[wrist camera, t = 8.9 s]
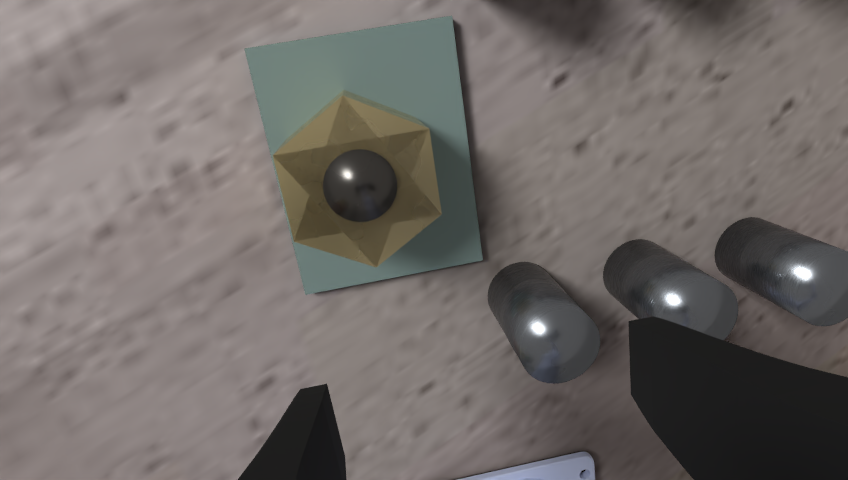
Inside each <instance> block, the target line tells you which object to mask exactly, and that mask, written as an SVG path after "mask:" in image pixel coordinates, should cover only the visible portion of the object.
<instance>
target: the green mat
mask: <svg viewBox="0 0 848 480" xmlns="http://www.w3.org/2000/svg"><path fill="white" fill-rule="evenodd" d="M245 53H246V57H247V61H248V65H249V69H250V73H251V77H252V81H253V85H254V89H255V93H256V97H257V101H258V105H259V109H260V113H261V118H262V122H263V126H264V130H265V134H266V138H267V142H268V146H269V150H270V154H271V158H272V162H273V166H274V170H275V174H276V178H277V182H278V186H279V190H280V194H281V198H282V202H283V206H284V210H285V214H286V218H287V222H288V226H289V230H290V234H291V238H292V242H293V246H294V250H295V254H296V258H297V262H298V266H299V270H300V275H301V279H302V283H303V287H304V291H305V295H307V294H312V293H317V292H322V291H327V290H333V289H338V288H343V287H348V286H353V285H358V284H364V283H369V282H374V281H379V280H384V279H389V278H394V277H400V276H405V275H410V274H415V273H420V272H425V271H431V270H436V269H441V268H446V267H451V266H456V265H462V264H467V263H472V262H477V261H482V260H483V257H482V250H481V242H480V234H479V226H478V218H477V210H476V202H475V194H474V186H473V178H472V170H471V162H470V154H469V146H468V139H467V131H466V123H465V115H464V107H463V99H462V91H461V83H460V75H459V67H458V59H457V51H456V43H455V35H454V28H453V20H452V16H447V17H441V18H435V19H428V20H422V21H416V22H409V23H403V24H397V25H391V26H384V27H378V28H372V29H365V30H359V31H353V32H346V33H340V34H334V35H327V36H321V37H315V38H308V39H302V40H296V41H289V42H283V43H277V44H271V45H264V46H258V47H252V48H245ZM343 90H346V91H349V92H351V93H354V94H356V95H359V96H362V97H364V98H367V99H369V100H372V101H374V102H377V103H380V104H382V105H385V106H387V107H390V108H393V109H395V110H398V111H400V112H403V113H405V114H408V115H411V116H413V117H416V118H417V119H418V120H419V121H421V122H422V123H423V124H424V125H425V126H427V127H428V128H429V130H430V137H431V144H432V151H433V158H434V164H435V171H436V178H437V185H438V192H439V198H440V205H441V212H442V215H440V216H439V217H438V218H437V219H435V220H434V221H433V222H432V223H431V224H429V225H428V226H427V227H426V228H424V229H423V230H422V231H421V232H419V233H418V234H417V235H416V236H415V237H413V238H412V239H411V240H410V241H408V242H407V243H406V244H405V245H403V246H402V247H401V248H400V249H398V250H397V251H396V252H395V253H394V254H392V255H391V256H390V257H389V258H387V259H386V260H385V261H384V262H382V263H381V264H380V265H379V266H378V267H373V266H370V265H367V264H364V263H360V262H357V261H354V260H351V259H348V258H344V257H341V256H338V255H335V254H332V253H328V252H325V251H322V250H319V249H316V248H312V247H309V246H306V245H303V244H300V243H296V242H294V241H293V236H292V232H291V228H290V224H289V220H288V216H287V212H286V208H285V204H284V200H283V196H282V192H281V188H280V184H279V180H278V175H277V171H276V167H275V163H274V159H273V155H274V153H275V152H276V151H277V150H278V149H279V147H280V146H281V145H282V144H283V143H284V141H285V140H286V139H287V138H288V137H289V136H291V135H292V134H293V133H294V132H295V131H296V130H298V129H299V128H300V127H301V126H302V125H303V124H305V123H306V122H307V121H308V120H309V119H310V118H312V117H313V116H314V115H315V114H316V113H317V112H319V111H320V110H321V109H322V108H323V107H324V106H325V105H327V104H328V103H329V102H330V101H331V100H332V99H334V98H335V97H336V96H337V95H338V94H339V93H341V92H342V91H343Z"/></svg>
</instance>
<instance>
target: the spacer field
mask: <svg viewBox="0 0 848 480" xmlns="http://www.w3.org/2000/svg"><path fill="white" fill-rule="evenodd" d="M715 262H716V265H717V267H718V269H719V270H720V272H721V273H722V274H724V275H725V276H727V277H728V278H730V279H732V280H734V281H736V282H737V283H739V284H741V285H743V286H744V287H746V288H748V289H750V290H751V291H753V292H755V293H757V294H759V295H760V296H762V297H764V298H766V299H767V300H769V301H771V302H773V303H774V304H776V305H778V306H780V307H782V308H783V309H785V310H787V311H789V312H790V313H792V314H794V315H796V316H798V317H799V318H801V319H803V320H805V321H806V322H808V323H810V324H812V325H816V326H830V325H834V324H837V323H839V322H841V321H843V320H845V319H846V318H848V251H845V250H842V249H840V248H837V247H834V246H832V245H829V244H827V243H824V242H821V241H819V240H816V239H813V238H811V237H808V236H805V235H803V234H800V233H797V232H795V231H792V230H789V229H787V228H784V227H781V226H779V225H776V224H774V223H771V222H768V221H766V220H763V219H760V218H755V217H751V218H745V219H742V220H739V221H737V222H735V223H734V224H732V225H731V226H730V227H728V228H727V229H726V230H725V231H724V233H723V234H722V235H721V237H720V239H719V241H718V243H717V246H716V249H715ZM603 279H604V284H605V287H606V289H607V290H608V292H609V293H610V294H611V295H612V296H613V297H614V298H616V299H617V300H618V301H619V302H620V303H621V304H622V305H624V306H625V307H626V308H627V309H628V310H629V311H630V312H631V313H633V314H634V315H635V316H636V317H637V318H638V319H643V318H647V317H652V316H654V317H658V318H661V319H665V320H668V321H671V322H674V323H677V324H680V325H682V326H685V327H688V328H691V329H693V330H696V331H699V332H702V333H704V334H707V335H710V336H712V337H715V338H718V339H721V340H724V339H725V338H726V337H727V336H728V335H729V333H730V332H731V330H732V329H733V327H734V325H735V322H736V319H737V315H738V303H737V299H736V296H735V295H734V293H733V292H732V290H731V289H730V288H729V287H728V286H726V285H725V284H723V283H721V282H720V281H718V280H716V279H714V278H713V277H711V276H709V275H708V274H706V273H704V272H703V271H701V270H699V269H697V268H696V267H694V266H692V265H691V264H689V263H687V262H686V261H684V260H682V259H680V258H679V257H677V256H675V255H674V254H672V253H670V252H669V251H667V250H665V249H664V248H662V247H660V246H658V245H657V244H655V243H653V242H651V241H648V240H643V239H638V240H632V241H629V242H626V243H624V244H622V245H621V246H619V247H618V248H617V249H616V250H615V251H614V252H613V253H612V254H611V255H610V257H609V258H608V260H607V262H606V264H605V267H604V272H603ZM488 303H489V306H490V309H491V310H492V312H493V314H494V316H495V317H496V319H497V321H498V323H499V324H500V326H501V328H502V330H503V331H504V333H505V335H506V337H507V338H508V340H509V342H510V344H511V345H512V347H513V349H514V350H515V352H516V354H517V356H518V357H519V359H520V361H521V363H522V364H523V366H524V368H525V369H526V371H527V372H528V373H529V374H530V375H531V376H532V377H534V378H535V379H537V380H539V381H542V382H546V383H563V382H567V381H570V380H572V379H575V378H576V377H578V376H580V375H581V374H583V373H584V372H585V371H586V370H587V369H588V368H589V367H590V366H591V365H592V363H593V362H594V360H595V359H596V357H597V354H598V351H599V348H600V334H599V330H598V328H597V326H596V324H595V323H594V322H593V320H592V319H591V318H590V317H589V316H588V315H587V314H586V313H585V312H584V311H583V310H582V309H581V308H580V307H579V306H578V304H577V303H576V302H575V301H574V300H573V299H572V298H571V297H570V296H569V295H568V294H567V293H566V292H565V291H564V290H563V289H562V288H561V287H560V285H559V284H558V283H557V282H556V281H555V280H554V279H553V278H552V277H551V276H550V275H549V274H548V273H547V272H546V271H545V270H544V269H543V268H542V267H540V266H539V265H536V264H533V263H529V262H519V263H515V264H512V265H509V266H507V267H505V268H504V269H502V270H501V271H500V272H499V273H498V274H497V275H496V276H495V277H494V279H493V280H492V282H491V284H490V287H489V290H488Z"/></svg>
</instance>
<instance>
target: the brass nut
mask: <svg viewBox="0 0 848 480" xmlns="http://www.w3.org/2000/svg"><path fill="white" fill-rule="evenodd" d="M273 159H274V163H275V167H276V171H277V175H278V180H279V184H280V188H281V192H282V196H283V200H284V204H285V208H286V212H287V216H288V220H289V224H290V228H291V232H292V236H293V241H294V242H296V243H300V244H303V245H306V246H309V247H312V248H316V249H319V250H322V251H325V252H328V253H332V254H335V255H338V256H341V257H344V258H348V259H351V260H354V261H357V262H360V263H364V264H367V265H370V266H373V267H378V266H379V265H380V264H381V263H382V262H384V261H385V260H386V259H387V258H389V257H390V256H391V255H392V254H394V253H395V252H396V251H397V250H398V249H400V248H401V247H402V246H403V245H405V244H406V243H407V242H408V241H410V240H411V239H412V238H413V237H415V236H416V235H417V234H418V233H419V232H421V231H422V230H423V229H424V228H426V227H427V226H428V225H429V224H431V223H432V222H433V221H434V220H435V219H437V218H438V217H439V216H440V215H442V212H441V205H440V198H439V192H438V185H437V178H436V171H435V164H434V158H433V151H432V144H431V137H430V130H429V128H428V127H427V126H425V125H424V124H423V123H422V122H421V121H419V120H418V119H417V118H416V117H413V116H411V115H408V114H405V113H403V112H400V111H398V110H395V109H393V108H390V107H387V106H385V105H382V104H380V103H377V102H374V101H372V100H369V99H367V98H364V97H362V96H359V95H356V94H354V93H351V92H349V91H346V90H343V91H342V92H341V93H339V94H338V95H337V96H336V97H335V98H334V99H332V100H331V101H330V102H329V103H328V104H327V105H325V106H324V107H323V108H322V109H321V110H320V111H319V112H317V113H316V114H315V115H314V116H313V117H312V118H310V119H309V120H308V121H307V122H306V123H305V124H303V125H302V126H301V127H300V128H299V129H298V130H296V131H295V132H294V133H293V134H292V135H291V136H289V137H288V138H287V139H286V140H285V141H284V143H283V144H282V145H281V146H280V147H279V149H278V150H277V151H276V152H275V153H274V155H273Z"/></svg>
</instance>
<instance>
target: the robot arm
mask: <svg viewBox="0 0 848 480" xmlns="http://www.w3.org/2000/svg"><path fill="white" fill-rule="evenodd" d="M629 346H630V378H631V395H632V397H633V398H634V400H635V402H636V403H637V405H638V407H639V408H640V410H641V412H642V413H643V415H644V417H645V418H646V420H647V421H648V423H649V424H650V426H651V427H652V429H653V430H654V432H655V433H656V434H657V435H658V437H659V438H660V439H661V440H662V442H663V443H664V444H665V445H666V447H667V448H668V449H669V450H670V451H671V453H672V454H673V455H674V456H675V458H676V459H677V460H678V461H679V462H680V464H681V465H682V466H683V467H684V468H685V470H686V471H687V472H688V473H689V474H690V476H691V477H692V478H693V479H694V480H848V377H844V376H840V375H836V374H831V373H827V372H823V371H819V370H815V369H811V368H807V367H804V366H800V365H797V364H793V363H790V362H786V361H783V360H780V359H777V358H774V357H770V356H767V355H764V354H761V353H758V352H755V351H752V350H749V349H746V348H743V347H740V346H737V345H734V344H732V343H729V342H726V341H723V340H721V339H718V338H715V337H712V336H710V335H707V334H704V333H702V332H699V331H696V330H693V329H691V328H688V327H685V326H682V325H680V324H677V323H674V322H671V321H668V320H665V319H661V318H658V317H654V316H652V317H647V318H643V319H638V320H633V321H629ZM583 470H585V471H584V472H582V473H580V472H581V471H583ZM238 480H346V466H345V455H344V451H343V447H342V443H341V439H340V435H339V431H338V426H337V422H336V418H335V414H334V410H333V406H332V402H331V398H330V394H329V390H328V386H327V384H324V385H319V386H314V387H309V388H304V389H300V390H299V392H298V393H297V395H296V396H295V398H294V399H293V401H292V402H291V404H290V405H289V407H288V409H287V410H286V412H285V413H284V415H283V416H282V418H281V420H280V421H279V423H278V424H277V426H276V427H275V429H274V430H273V432H272V433H271V435H270V436H269V438H268V439H267V441H266V442H265V443H264V445H263V446H262V448H261V449H260V451H259V452H258V454H257V455H256V456H255V458H254V459H253V460H252V462H251V463H250V464H249V466H248V467H247V468H246V469H245V471H244V472H243V473H242V475H241V476H240V477H239V479H238ZM457 480H595V466H594V460H593V458H592V456H591V455H590V454H589V453H588V452H578V453H573V454H569V455H564V456H560V457H555V458H551V459H546V460H542V461H537V462H533V463H529V464H524V465H520V466H515V467H511V468H506V469H502V470H497V471H493V472H488V473H484V474H479V475H475V476H471V477H466V478H462V479H457Z"/></svg>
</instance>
